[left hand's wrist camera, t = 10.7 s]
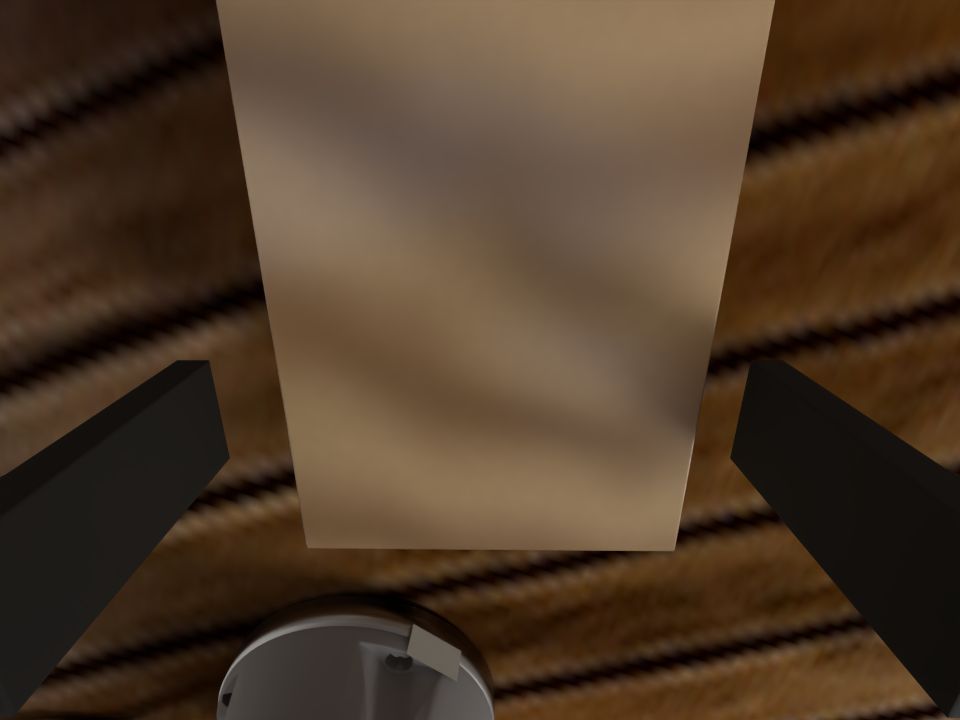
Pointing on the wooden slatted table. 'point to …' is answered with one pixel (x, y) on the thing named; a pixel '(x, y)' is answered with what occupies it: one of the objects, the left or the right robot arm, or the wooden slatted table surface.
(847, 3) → the wooden slatted table surface
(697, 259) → the cabinet
